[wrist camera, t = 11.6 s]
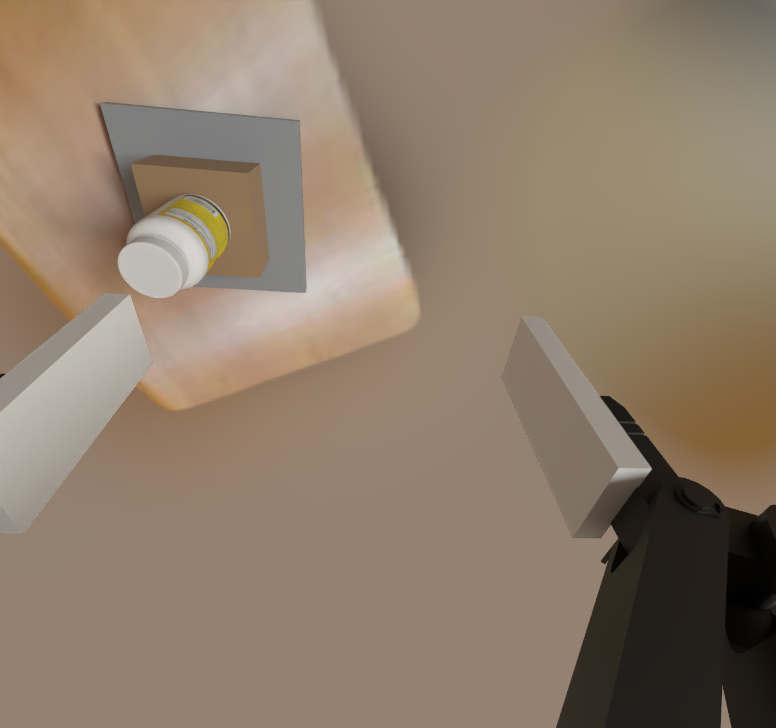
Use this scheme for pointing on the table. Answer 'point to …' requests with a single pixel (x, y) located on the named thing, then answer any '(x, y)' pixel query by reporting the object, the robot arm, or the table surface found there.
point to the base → (224, 144)
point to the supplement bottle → (174, 246)
